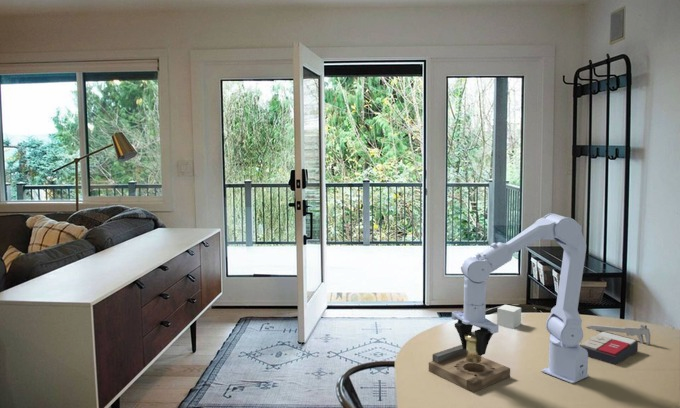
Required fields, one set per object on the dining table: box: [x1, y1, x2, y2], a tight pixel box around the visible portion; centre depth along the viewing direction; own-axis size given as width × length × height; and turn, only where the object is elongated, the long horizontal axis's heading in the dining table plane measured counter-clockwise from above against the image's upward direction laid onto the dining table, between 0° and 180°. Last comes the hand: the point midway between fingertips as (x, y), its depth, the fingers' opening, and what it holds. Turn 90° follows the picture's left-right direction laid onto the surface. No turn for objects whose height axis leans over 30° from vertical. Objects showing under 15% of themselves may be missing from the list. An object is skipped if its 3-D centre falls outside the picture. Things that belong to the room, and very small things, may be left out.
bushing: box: [465, 331, 482, 363], centre depth 144 cm, size 5×5×7 cm
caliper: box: [585, 324, 651, 346], centre depth 174 cm, size 20×1×6 cm, turn 36°
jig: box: [428, 344, 511, 393], centre depth 147 cm, size 16×15×4 cm
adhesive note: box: [496, 304, 522, 329], centre depth 186 cm, size 6×6×6 cm
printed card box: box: [579, 331, 639, 366], centre depth 160 cm, size 11×4×15 cm
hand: (473, 351), depth 145 cm, fingers closed on bushing, 5 cm apart
